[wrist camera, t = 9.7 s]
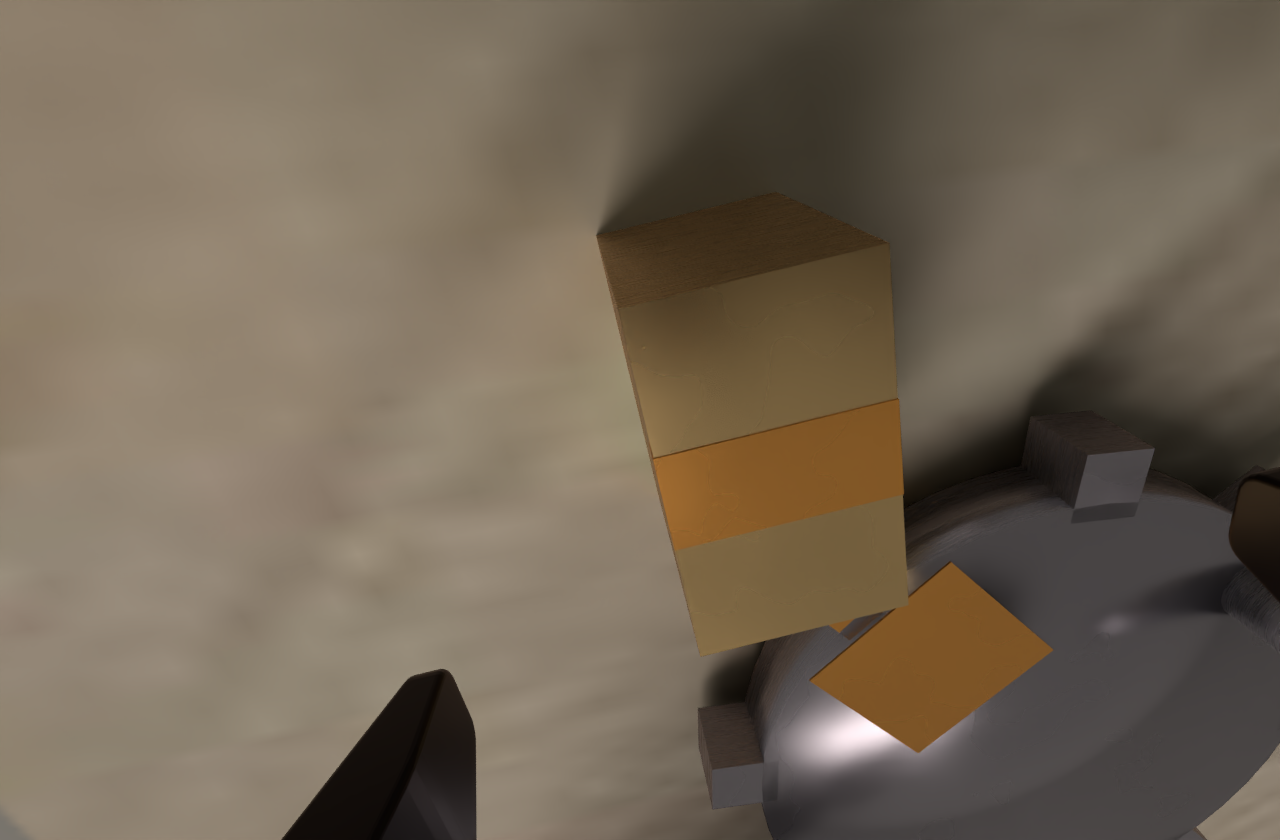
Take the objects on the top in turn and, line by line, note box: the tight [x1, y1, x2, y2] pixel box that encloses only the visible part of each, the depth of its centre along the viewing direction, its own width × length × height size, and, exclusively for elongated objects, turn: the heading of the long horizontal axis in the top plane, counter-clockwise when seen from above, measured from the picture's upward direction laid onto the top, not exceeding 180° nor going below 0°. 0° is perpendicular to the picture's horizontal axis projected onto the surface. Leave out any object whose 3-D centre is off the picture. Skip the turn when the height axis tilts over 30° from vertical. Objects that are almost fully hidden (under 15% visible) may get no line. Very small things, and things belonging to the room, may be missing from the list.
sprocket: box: [698, 411, 1280, 840], centre depth 16 cm, size 16×16×6 cm
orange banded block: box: [596, 192, 909, 657], centre depth 12 cm, size 6×4×5 cm, turn 12°
